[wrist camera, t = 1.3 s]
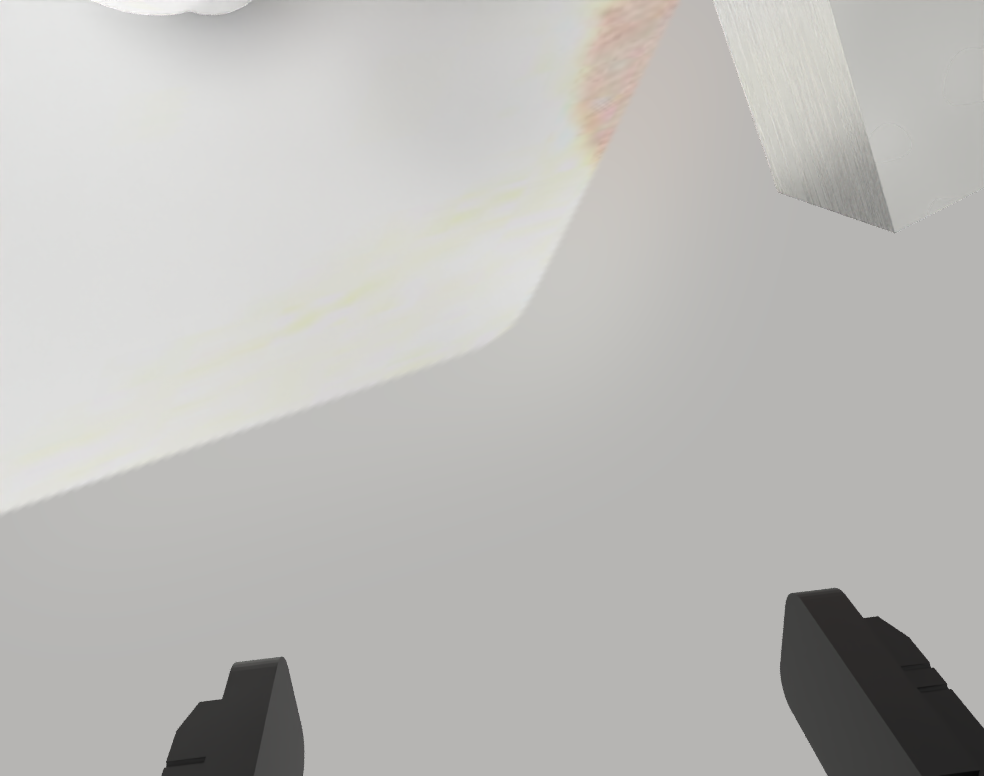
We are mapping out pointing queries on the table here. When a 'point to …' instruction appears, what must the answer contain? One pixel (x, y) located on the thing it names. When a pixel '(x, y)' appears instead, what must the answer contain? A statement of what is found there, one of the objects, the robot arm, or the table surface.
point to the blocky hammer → (865, 100)
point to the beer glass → (175, 6)
